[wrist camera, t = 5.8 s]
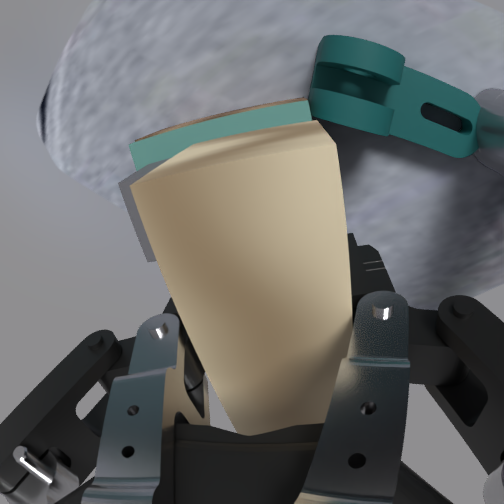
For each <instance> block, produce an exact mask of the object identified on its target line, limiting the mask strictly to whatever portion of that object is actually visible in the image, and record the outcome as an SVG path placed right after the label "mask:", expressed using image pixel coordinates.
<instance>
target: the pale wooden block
mask: <svg viewBox="0 0 504 504" xmlns="http://www.w3.org/2000/svg"><path fill="white" fill-rule="evenodd" d="M130 188H131V191H132V194H133V197H134V200H135V203H136V206H137V209H138V212H139V214H140V217H141V220H142V223H143V226H144V228H145V231H146V234H147V236H148V239H149V242H150V244H151V247H152V250H153V252H154V255H155V257H156V260H157V262H158V265H159V267H160V270H161V273H162V275H163V277H164V280H165V282H166V285H167V287H168V289H169V292H170V294H171V297H172V299H173V301H174V304H175V306H176V308H177V311H178V313H179V315H180V318H181V320H182V322H183V324H184V327H185V329H186V331H187V333H188V336H189V338H190V340H191V342H192V344H193V346H194V349H195V351H196V353H197V355H198V357H199V359H200V361H201V363H202V365H203V367H204V370H205V372H206V373H207V376H208V378H209V380H210V382H211V384H212V385H213V388H214V390H215V392H216V393H217V395H218V398H219V399H220V401H221V403H222V405H223V407H224V409H225V411H226V413H227V415H228V417H229V419H230V420H231V422H232V424H233V426H234V428H235V430H236V431H237V433H238V434H242V435H247V436H252V435H257V434H262V433H266V432H270V431H275V430H279V429H283V428H287V427H290V426H294V425H305V424H318V423H324V422H325V419H326V416H327V412H328V409H329V405H330V402H331V398H332V394H333V391H334V387H335V383H336V379H337V375H338V371H339V367H340V364H341V361H342V359H343V358H347V354H348V349H349V344H350V340H351V335H352V330H353V322H352V296H351V278H350V263H349V250H348V238H347V227H346V217H345V208H344V199H343V190H342V182H341V175H340V167H339V160H338V153H337V147H336V143H335V142H334V141H333V140H332V138H331V137H330V136H329V135H328V133H327V132H326V131H325V130H324V128H323V127H322V126H321V125H320V123H319V122H318V121H317V120H314V121H307V122H300V123H294V124H288V125H282V126H276V127H271V128H265V129H260V130H255V131H250V132H245V133H240V134H235V135H230V136H226V137H221V138H217V139H213V140H208V141H204V142H200V143H196V144H193V145H191V146H190V147H188V148H186V149H185V150H183V151H181V152H180V153H178V154H177V155H175V156H174V157H172V158H170V159H169V160H167V161H166V162H164V163H163V164H161V165H160V166H158V167H157V168H155V169H154V170H152V171H151V172H149V173H148V174H146V175H145V176H143V177H142V178H140V179H139V180H137V181H136V182H134V183H133V184H132V185H130Z"/></svg>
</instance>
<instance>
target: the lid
mask: <svg viewBox="0 0 504 504" xmlns="http://www.w3.org/2000/svg"><path fill="white" fill-rule="evenodd" d="M307 121H312V117H311V112H310V107H309V103H308V100H305V101H298V102H292V103H287V104H281V105H275V106H270V107H265V108H260V109H255V110H250V111H246V112H241V113H237V114H232V115H228V116H224V117H220V118H216V119H212V120H208V121H204V122H200V123H196V124H193V125H189V126H185V127H182V128H178V129H175V130H172V131H168V132H165V133H162V134H158V135H155V136H152V137H149V138H146V139H143V140H140V141H137V142H134V143H132V144H129V148H130V151H131V154H132V158H133V161H134V164H135V167H136V170H137V171H136V172H135V173H133V174H132V175H130V176H129V177H127V178H125V179H124V180H122V181H121V182H119V183H118V184H119V187H120V190H121V193H122V196H123V199H124V202H125V204H126V207H127V210H128V213H129V215H130V218H131V221H132V223H133V226H134V229H135V231H136V234H137V237H138V239H139V242H140V244H141V247H142V249H143V252H144V254H145V257H146V259H147V261H148V262H152V261H157V260H156V257H155V255H154V252H153V250H152V247H151V244H150V242H149V239H148V236H147V234H146V231H145V228H144V226H143V223H142V220H141V217H140V214H139V212H138V209H137V206H136V203H135V200H134V197H133V194H132V191H131V188H130V185H132V184H133V183H134V182H136V181H137V180H139V179H140V178H142V177H143V176H145V175H146V174H148V173H149V172H151V171H152V170H154V169H155V168H157V167H158V166H160V165H161V164H163V163H164V162H166V161H167V160H169V159H170V158H172V157H174V156H175V155H177V154H178V153H180V152H181V151H183V150H185V149H186V148H188V147H190V146H191V145H193V144H196V143H200V142H204V141H208V140H213V139H217V138H221V137H226V136H230V135H235V134H240V133H245V132H250V131H255V130H260V129H265V128H271V127H276V126H282V125H288V124H294V123H300V122H307Z"/></svg>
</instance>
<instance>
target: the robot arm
mask: <svg viewBox="0 0 504 504" xmlns="http://www.w3.org/2000/svg"><path fill="white" fill-rule="evenodd" d="M474 99H475V100H476V101H477V102H478V104H479V105H480V107H481V109H480V111H479V114H478V119H477V129H476V130H477V141H478V146H479V148H478V150H477V151H476V152H474V153H473V154H474V155H475V156H476V158H477V159H478V160H479V161H480V162H481V163H482V164H483V165H485V166H487V167H489V168H490V169H492V170H494V171H496V172H497V173H499V174H501V175H502V176H504V90H501V89H487V90H484V91H482V92H480V93H479V94H478V95H477V96H476V97H475V98H474ZM347 238H348V250H349V263H350V278H351V296H352V322H353V330H352V335H351V340H350V344H349V349H348V354H347V358H343V359H342V361H341V364H340V367H339V371H338V375H337V379H336V383H335V387H334V391H333V394H332V398H331V402H330V405H329V409H328V412H327V416H326V419H325V422H324V423H318V424H305V425H294V426H290V427H287V428H283V429H279V430H275V431H270V432H266V433H262V434H257V435H252V436H247V435H242V434H238V433H234V432H230V431H227V430H223V429H219V428H216V427H212V426H210V414H209V397H208V381H207V378H206V376H205V374H204V373H205V370H204V367H203V365H202V363H201V361H200V359H199V357H198V355H197V353H196V351H195V349H194V346H193V344H192V342H191V340H190V338H189V336H188V333H187V331H186V329H185V327H184V324H183V322H182V320H181V318H180V315H179V313H178V311H177V308H176V306H175V304H174V301H173V299H172V297H171V298H170V300H169V302H168V304H167V306H166V308H165V310H164V311H163V313H162V314H159V315H156V316H153V317H151V318H149V319H148V320H146V321H145V322H144V323H143V324H142V325H141V326H140V327H139V329H138V331H137V335H136V336H135V337H132V338H128V339H124V340H120V341H118V340H117V339H116V337H115V335H114V334H113V332H112V331H109V330H99V331H97V332H94V333H92V334H90V335H89V336H88V337H86V338H85V339H84V340H83V341H82V342H81V343H80V344H79V345H78V346H77V347H76V348H75V349H74V350H73V351H72V352H71V353H70V354H69V355H67V357H66V358H64V359H63V360H62V361H61V362H60V363H59V364H58V365H57V366H56V367H55V368H54V369H53V370H52V371H51V372H50V373H49V374H48V375H47V376H46V377H45V378H44V379H43V381H42V382H40V383H39V384H38V386H36V387H35V388H34V389H33V391H32V392H31V393H30V394H29V395H28V396H27V397H26V398H25V399H24V400H23V401H22V402H21V403H20V404H19V405H18V406H17V407H16V408H15V409H14V410H13V411H12V413H10V415H9V416H8V417H7V418H6V419H5V420H4V421H3V422H2V423H1V424H0V494H2V495H3V496H5V497H6V499H7V501H8V502H9V504H453V503H452V502H451V501H450V500H448V499H447V498H446V497H444V496H443V495H442V494H441V493H439V492H438V491H437V490H436V489H435V488H433V487H432V486H431V485H430V484H428V483H427V482H426V481H425V480H424V479H422V478H421V477H420V476H419V475H417V474H416V473H415V472H414V471H413V470H411V469H410V468H409V467H408V466H407V465H406V464H404V463H403V462H402V461H401V456H402V450H403V443H404V434H405V426H406V417H407V407H408V395H409V383H412V384H424V385H425V387H426V389H427V390H428V392H429V393H430V394H431V396H432V397H433V398H434V399H435V401H436V402H437V404H438V405H439V406H440V407H441V409H442V410H443V411H444V413H445V414H446V416H447V417H448V418H449V420H450V421H451V422H452V424H453V425H454V427H455V428H456V429H457V431H458V432H459V433H460V435H461V436H462V438H463V439H464V441H465V442H466V443H467V445H468V446H469V448H470V449H471V450H472V452H473V453H474V455H475V456H476V458H477V459H478V460H479V462H480V463H481V465H482V466H483V468H484V469H485V471H486V472H487V474H488V475H489V476H488V478H487V480H486V482H485V485H484V489H483V497H484V501H485V504H504V323H503V322H502V321H501V320H500V319H499V318H498V317H497V316H496V315H494V314H493V313H492V312H491V311H490V310H489V309H487V308H486V307H485V306H484V305H483V304H481V303H480V302H479V301H477V300H476V299H474V298H472V297H469V296H463V295H456V296H451V297H448V298H446V299H445V300H443V301H442V302H441V304H440V305H439V308H438V311H436V310H422V309H416V308H412V307H410V306H408V303H407V301H406V300H405V298H404V297H403V296H401V295H399V294H397V293H396V292H395V290H394V287H393V285H392V282H391V280H390V278H389V275H388V273H387V270H386V269H385V266H384V263H383V261H382V259H381V257H380V254H379V252H378V251H377V250H376V249H374V248H373V247H372V246H370V245H363V246H357V243H356V240H355V238H354V235H353V233H349V234H347ZM97 381H98V382H99V383H100V384H101V386H102V387H103V388H104V389H105V391H106V392H107V393H106V394H105V395H104V397H103V398H102V399H101V400H100V401H99V402H98V403H97V404H96V405H95V407H94V408H93V409H92V410H91V411H90V412H89V413H88V414H87V416H86V417H85V418H84V419H82V420H80V419H79V418H78V416H77V415H76V406H77V404H78V402H79V401H80V400H81V399H82V398H83V397H84V396H85V394H86V393H87V392H88V391H89V390H90V389H91V388H92V387H93V386H94V385H95V384H96V382H97ZM95 467H96V471H95V476H94V477H93V478H91V479H90V480H88V481H87V482H85V483H84V484H83V485H81V484H82V483H83V482H84V480H85V479H86V478H87V477H88V476H89V474H90V473H91V472H92V471H93V469H94V468H95ZM80 485H81V486H80ZM79 486H80V487H79Z"/></svg>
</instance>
